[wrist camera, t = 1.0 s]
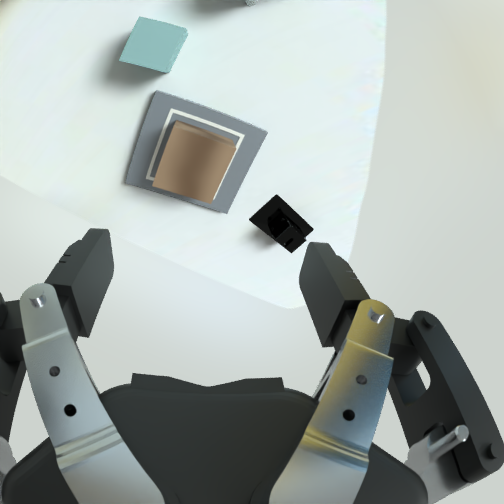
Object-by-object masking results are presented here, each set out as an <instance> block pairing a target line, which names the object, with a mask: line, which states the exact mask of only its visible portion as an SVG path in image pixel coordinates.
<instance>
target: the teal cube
mask: <svg viewBox="0 0 504 504" xmlns="http://www.w3.org/2000/svg"><path fill="white" fill-rule="evenodd" d="M187 36H188V33H187V30H186V28H183V27H179V26H176V25H172V24H169V23H165V22H161V21H157V20H153V19H148V18H144V17H139V18H138V20H137V22H136V24H135V26H134V28H133V30H132V32H131V34H130V36H129V39H128V41H127V43H126V45H125V48H124V50H123V52H122V55H121V57H120V59H119V61H123V62H127V63H131V64H135V65H139V66H143V67H147V68H150V69H154V70H158V71H161V72H164V73H165V72H170V71H171V68H172V66H173V64H174V62H175V60H176V58H177V56H178V54H179V51H180V49H181V47H182V45H183V43H184V42H185V40H186V38H187Z"/></svg>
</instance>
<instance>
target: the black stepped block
mask: <svg viewBox="0 0 504 504" xmlns="http://www.w3.org/2000/svg"><path fill="white" fill-rule="evenodd" d="M249 221H251V222H252V223H253V224H255V225H256V226H257V227H258V228H260V229H261V230H262V231H264V232H265V233H266V234H267V235H269V236H270V237H271V238H273V239H274V240H275V241H276V242H278V243H279V244H280V245H282V246H283V247H284V248H285V249H287V250H288V251H289V252H290V253H292V252H294V251H295V250H296V249H297V248H298V247H299V246H301V245H302V244H303V243H304V242H305V241H306V236H307V235H308V234H309V233H311V232H312V231H313V228H312V227H311V226H310V225H309V224H308V223H307V222H306V221H305V220H304V219H303V218H302V217H301V216H300V215H299V214H297V213H296V212H295V211H294V210H293V209H292V208H291V207H290V206H289V205H288V204H287V203H286V202H285V201H284V200H283V199H282V198H280V197H279V196H278V195H275V196H274V197H273V198H272V199H271V200H269V201H268V202H267V203H266V204H265V205H264V206H263V207H262V208H261V209H260V210H258V211H257V212H256V213H255V214H254V215H253V216H252V217H251V218H250V219H249Z"/></svg>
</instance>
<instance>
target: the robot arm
mask: <svg viewBox="0 0 504 504" xmlns="http://www.w3.org/2000/svg"><path fill="white" fill-rule="evenodd" d="M113 272H114V262H113V255H112V247H111V240H110V233H109V230H108V229H95V228H91V229H89V230H88V232H87V233H86V234H85V236H84V237H83V238H82V240H78V241H76V242H75V243H73V244H72V245H71V246H69V247H68V249H67V250H66V251H65V253H64V254H63V256H62V257H61V258H60V260H59V263H57V264H56V266H55V267H54V269H53V270H52V272H51V273H50V275H49V276H48V278H47V279H46V281H45V282H44V283H40V284H36V285H33V286H31V287H29V288H28V289H27V290H26V291H25V292H24V293H23V294H22V296H21V298H20V300H15V301H8V302H5V301H4V299H3V297H2V294H1V293H0V504H434V503H436V502H437V501H439V500H441V499H443V498H445V497H446V496H448V495H449V494H452V493H454V492H456V491H459V490H461V489H463V488H465V487H467V486H469V485H471V484H473V483H475V482H477V481H479V480H481V479H483V478H485V477H487V476H488V475H490V474H492V473H493V472H495V471H497V470H498V469H499V468H500V467H501V466H502V465H503V463H504V443H503V440H502V438H501V436H500V433H499V430H498V428H497V425H496V423H495V421H494V419H493V416H492V414H491V412H490V410H489V408H488V406H487V403H486V401H485V399H484V397H483V395H482V393H481V391H480V389H479V387H478V385H477V384H476V382H475V380H474V378H473V376H472V374H471V372H470V370H469V369H468V367H467V365H466V363H465V362H464V360H463V358H462V356H461V355H460V353H459V351H458V349H457V348H456V346H455V344H454V343H453V341H452V340H451V338H450V336H449V335H448V333H447V332H446V330H445V329H444V327H443V325H442V324H441V322H440V321H439V320H438V319H437V318H436V317H435V316H434V315H433V314H431V313H429V312H426V311H417V312H415V313H414V315H413V316H412V318H411V320H405V319H400V318H395V317H394V314H393V312H392V310H391V309H390V308H389V307H388V306H387V305H385V304H384V303H382V302H380V301H377V300H373V299H370V297H369V295H368V294H367V292H366V290H365V289H364V287H363V286H362V284H361V283H360V281H359V280H358V279H357V276H356V275H355V273H353V270H352V269H351V267H350V266H349V264H348V263H347V262H346V261H345V260H344V259H342V258H341V257H340V256H337V255H336V254H335V252H334V251H333V249H332V248H331V246H330V245H329V244H328V243H319V242H310V243H309V244H308V247H307V250H306V254H305V257H304V261H303V264H302V268H301V271H300V276H299V285H300V289H301V291H302V294H303V297H304V299H305V302H306V304H307V307H308V309H309V312H310V315H311V318H312V320H313V323H314V326H315V328H316V331H317V333H318V336H319V339H320V342H321V344H322V347H334V348H335V352H334V354H333V356H332V358H331V360H330V362H329V364H328V366H327V368H326V370H325V373H324V375H323V377H322V379H321V381H320V383H319V385H318V387H317V389H316V390H315V393H314V394H313V396H312V397H311V396H308V395H307V394H305V393H302V392H299V391H296V390H293V389H289V388H284V385H283V381H282V378H281V377H279V378H255V379H243V380H239V381H234V382H230V383H225V384H220V385H216V386H211V387H206V386H201V385H197V384H193V383H190V382H186V381H182V380H179V379H175V378H172V377H167V376H155V375H146V374H136V373H133V375H132V381H131V384H124V385H120V386H116V387H113V388H111V389H108V390H107V391H104V392H103V393H101V394H100V392H99V390H98V388H97V387H96V385H95V383H94V381H93V379H92V377H91V375H90V373H89V371H88V368H87V366H86V364H85V362H84V360H83V358H82V355H81V353H80V351H79V349H78V346H77V344H76V341H77V338H78V336H82V337H87V338H88V337H89V336H90V333H91V330H92V327H93V325H94V322H95V319H96V316H97V314H98V311H99V309H100V306H101V304H102V301H103V299H104V296H105V294H106V291H107V289H108V286H109V284H110V282H111V279H112V277H113ZM421 361H423V363H424V365H425V367H426V369H427V371H428V373H429V375H430V380H431V382H430V386H429V388H428V389H427V390H426V388H425V386H424V384H423V382H422V379H421V377H420V375H419V373H418V371H417V369H416V368H417V366H418V365H419V364H420V363H421ZM26 370H27V372H28V376H29V380H30V383H31V387H32V390H33V393H34V396H35V400H36V402H37V406H38V409H39V411H40V414H41V417H42V419H43V422H44V425H45V427H46V430H47V432H48V435H49V437H48V438H47V439H46V440H44V441H43V442H42V443H41V444H40V445H38V446H37V447H36V448H35V449H34V450H33V451H31V452H30V453H29V454H28V455H26V456H25V457H24V458H23V459H22V460H21V461H19V462H18V463H17V464H16V460H15V458H14V457H13V456H12V451H11V448H10V445H9V444H8V442H9V437H10V431H11V426H12V421H13V417H14V412H15V408H16V404H17V400H18V397H19V393H20V389H21V386H22V382H23V379H24V376H25V373H26ZM387 388H388V390H389V392H390V395H391V398H392V400H393V403H394V405H395V408H396V411H397V414H398V417H399V419H400V422H401V425H402V428H403V431H404V434H405V437H406V440H407V443H408V446H409V449H410V450H409V452H408V460H406V461H405V463H404V464H403V463H402V462H400V461H399V460H397V459H396V458H394V457H393V456H391V455H390V454H388V453H387V452H386V451H384V450H383V449H381V448H380V447H378V446H377V445H375V444H374V443H373V442H372V440H373V437H374V434H375V431H376V427H377V424H378V421H379V418H380V414H381V410H382V407H383V404H384V400H385V396H386V392H387Z"/></svg>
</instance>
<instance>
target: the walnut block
mask: <svg viewBox="0 0 504 504" xmlns="http://www.w3.org/2000/svg"><path fill="white" fill-rule="evenodd" d="M235 151H236V147H235V145H234V142H233V140H232V139H229V138H226V137H224V136H221V135H218V134H216V133H213V132H210V131H208V130H205V129H202V128H199V127H196V126H193V125H191V124H188V123H185V122H182V121H179V120H176V122H175V124H174V126H173V129H172V131H171V134H170V137H169V139H168V142H167V144H166V147H165V150H164V153H163V155H162V158H161V161H160V164H159V167H158V170H157V173H156V176H155V179H154V182H153V185H152V186H154V187H157V188H160V189H164V190H167V191H170V192H173V193H177V194H180V195H183V196H186V197H190V198H193V199H196V200H199V201H202V202H206V203H209V204H211V203H212V201H213V198H214V196H215V194H216V192H217V190H218V187H219V185H220V183H221V181H222V179H223V177H224V174H225V172H226V170H227V168H228V166H229V164H230V162H231V160H232V158H233V155H234V153H235Z"/></svg>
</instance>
